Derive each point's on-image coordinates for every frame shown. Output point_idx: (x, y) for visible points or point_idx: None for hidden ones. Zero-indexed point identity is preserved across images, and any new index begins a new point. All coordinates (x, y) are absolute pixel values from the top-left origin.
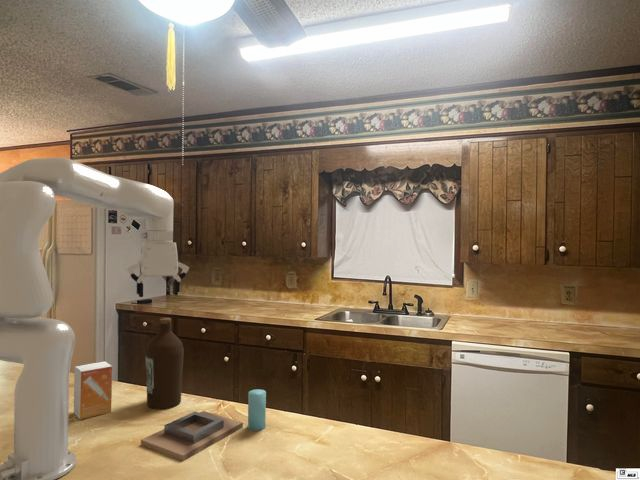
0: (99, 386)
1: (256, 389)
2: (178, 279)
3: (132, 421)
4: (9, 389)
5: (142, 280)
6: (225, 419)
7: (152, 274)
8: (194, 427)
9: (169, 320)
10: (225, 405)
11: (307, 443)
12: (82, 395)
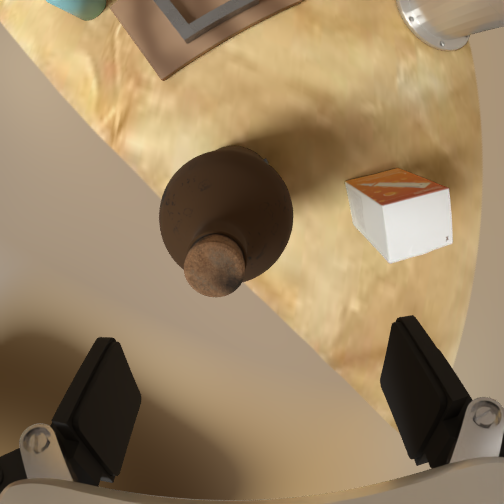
0: (391, 187)
1: (54, 3)
2: (41, 445)
3: (309, 109)
4: (452, 358)
5: (462, 428)
6: (132, 25)
7: (408, 499)
8: (197, 7)
9: (194, 246)
10: (110, 119)
11: None
12: (416, 176)
